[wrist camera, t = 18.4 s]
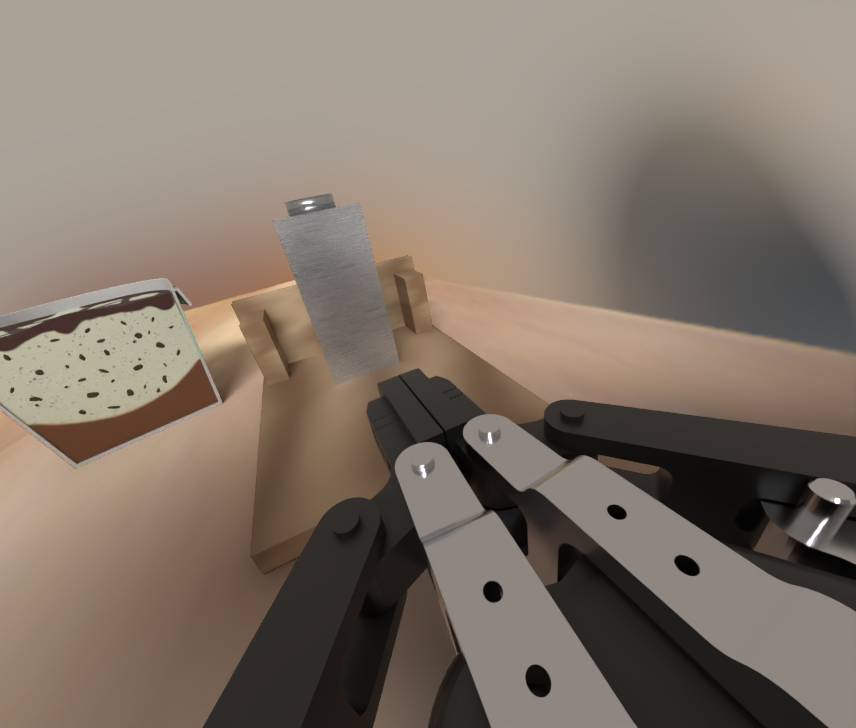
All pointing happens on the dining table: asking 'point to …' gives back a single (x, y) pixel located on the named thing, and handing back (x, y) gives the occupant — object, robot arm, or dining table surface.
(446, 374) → the dock
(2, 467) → the dining table surface
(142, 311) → the food container
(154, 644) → the dining table surface
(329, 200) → the block
